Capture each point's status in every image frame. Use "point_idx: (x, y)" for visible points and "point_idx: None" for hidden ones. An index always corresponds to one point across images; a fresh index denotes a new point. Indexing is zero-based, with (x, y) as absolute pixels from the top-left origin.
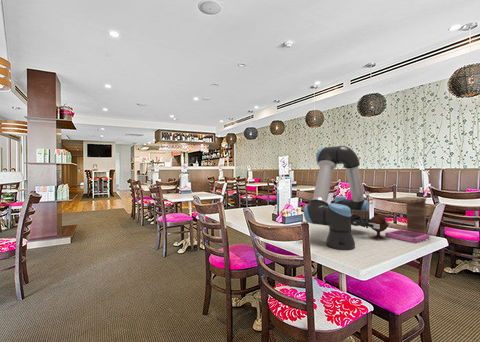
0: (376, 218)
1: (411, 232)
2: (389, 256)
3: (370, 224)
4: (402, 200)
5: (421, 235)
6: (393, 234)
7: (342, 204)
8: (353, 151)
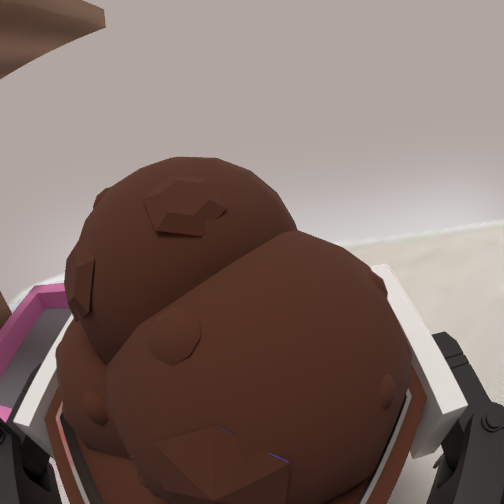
0: (327, 242)
1: (1, 346)
2: (480, 234)
3: (458, 362)
4: (75, 3)
5: (31, 314)
6: None
7: None
8: None
